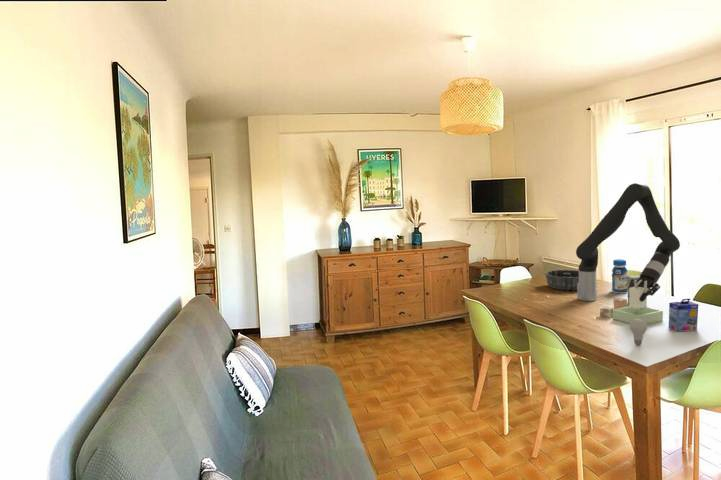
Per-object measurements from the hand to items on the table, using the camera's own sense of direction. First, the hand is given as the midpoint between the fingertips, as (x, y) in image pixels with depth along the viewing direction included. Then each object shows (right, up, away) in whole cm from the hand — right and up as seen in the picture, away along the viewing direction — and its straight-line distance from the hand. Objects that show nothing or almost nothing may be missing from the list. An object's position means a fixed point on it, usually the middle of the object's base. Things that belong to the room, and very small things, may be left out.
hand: (635, 299), depth 207 cm
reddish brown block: (+2, -9, +16) cm, 18 cm away
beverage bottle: (+28, -4, +58) cm, 65 cm away
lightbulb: (-18, -15, -31) cm, 39 cm away
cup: (+2, -4, +1) cm, 5 cm away
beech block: (-8, -10, +11) cm, 17 cm away
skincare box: (+19, -7, +29) cm, 36 cm away
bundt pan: (+4, -3, +77) cm, 77 cm away
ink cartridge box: (+12, -12, -15) cm, 22 cm away
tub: (+2, -10, +2) cm, 11 cm away
